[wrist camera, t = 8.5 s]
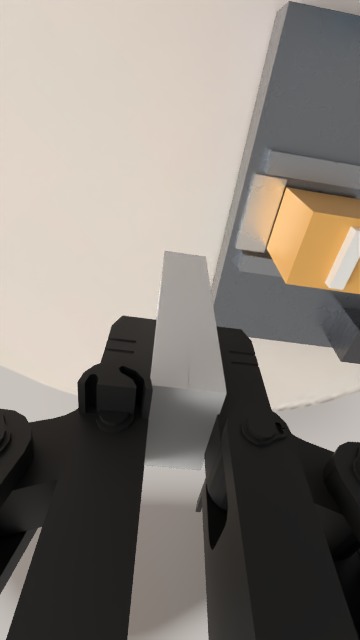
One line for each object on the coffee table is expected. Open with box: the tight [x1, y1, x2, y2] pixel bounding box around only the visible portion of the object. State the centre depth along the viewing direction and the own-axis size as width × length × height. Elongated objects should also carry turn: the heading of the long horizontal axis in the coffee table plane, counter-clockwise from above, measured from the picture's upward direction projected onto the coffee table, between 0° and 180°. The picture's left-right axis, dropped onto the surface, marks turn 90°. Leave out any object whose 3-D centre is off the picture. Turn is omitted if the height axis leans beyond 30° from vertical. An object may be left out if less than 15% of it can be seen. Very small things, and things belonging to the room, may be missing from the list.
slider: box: [267, 187, 360, 294], centre depth 19 cm, size 4×5×6 cm
